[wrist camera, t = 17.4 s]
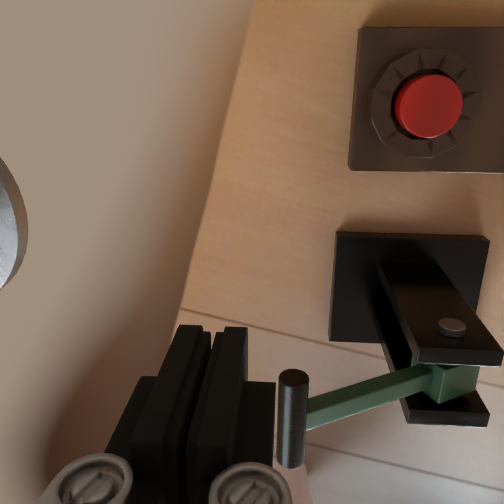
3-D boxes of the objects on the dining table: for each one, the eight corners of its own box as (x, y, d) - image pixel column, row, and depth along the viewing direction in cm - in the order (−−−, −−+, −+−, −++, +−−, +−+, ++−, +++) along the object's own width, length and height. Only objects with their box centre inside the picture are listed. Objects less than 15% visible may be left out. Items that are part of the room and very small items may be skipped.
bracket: (328, 333, 40) (344, 448, 28) (335, 231, 36) (358, 311, 24) (463, 339, 39) (540, 459, 27) (484, 235, 36) (581, 320, 24)
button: (390, 133, 30) (396, 137, 29) (397, 73, 29) (404, 74, 28) (448, 134, 30) (457, 138, 29) (457, 74, 29) (468, 74, 27)
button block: (347, 165, 34) (353, 176, 31) (358, 28, 31) (366, 24, 28) (518, 169, 34) (543, 180, 30) (548, 29, 30) (579, 24, 27)
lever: (267, 447, 25) (289, 480, 23) (269, 366, 23) (293, 395, 21) (440, 387, 30) (470, 410, 28) (452, 317, 28) (486, 336, 26)
